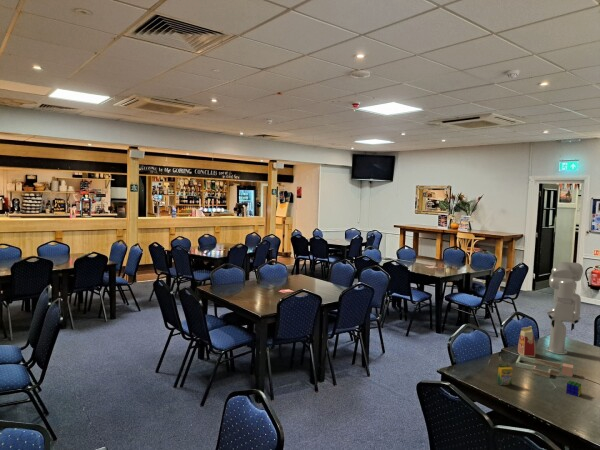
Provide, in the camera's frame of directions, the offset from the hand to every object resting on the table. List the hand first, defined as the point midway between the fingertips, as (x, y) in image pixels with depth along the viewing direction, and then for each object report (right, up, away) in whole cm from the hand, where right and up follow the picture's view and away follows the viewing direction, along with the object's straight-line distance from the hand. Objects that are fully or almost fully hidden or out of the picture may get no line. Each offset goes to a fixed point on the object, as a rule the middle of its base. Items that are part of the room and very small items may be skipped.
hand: (562, 328), depth 257 cm
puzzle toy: (-9, -30, -24) cm, 40 cm away
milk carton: (-5, -26, +33) cm, 43 cm away
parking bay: (-7, -28, +6) cm, 29 cm away
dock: (-14, -27, +15) cm, 34 cm away
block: (+4, -29, +2) cm, 29 cm away
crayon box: (-43, -28, -15) cm, 54 cm away
